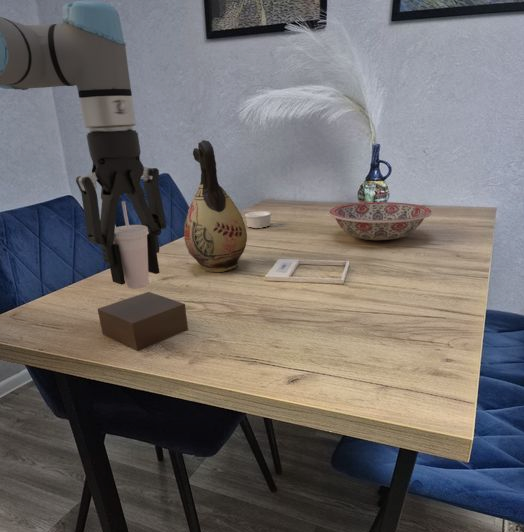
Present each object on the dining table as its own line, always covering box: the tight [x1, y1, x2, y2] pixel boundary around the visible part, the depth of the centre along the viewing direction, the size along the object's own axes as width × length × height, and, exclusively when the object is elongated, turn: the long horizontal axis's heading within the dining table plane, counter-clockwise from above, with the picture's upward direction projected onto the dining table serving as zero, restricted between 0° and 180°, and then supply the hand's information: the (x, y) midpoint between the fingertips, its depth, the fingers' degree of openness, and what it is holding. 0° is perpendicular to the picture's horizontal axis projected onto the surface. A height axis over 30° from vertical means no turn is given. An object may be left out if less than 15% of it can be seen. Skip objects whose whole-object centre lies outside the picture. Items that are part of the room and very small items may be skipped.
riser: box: [97, 291, 189, 352], centre depth 85 cm, size 11×11×5 cm
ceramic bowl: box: [328, 201, 433, 241], centre depth 139 cm, size 29×29×8 cm
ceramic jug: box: [183, 139, 248, 273], centre depth 113 cm, size 17×15×30 cm
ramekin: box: [244, 210, 272, 228], centre depth 161 cm, size 9×9×4 cm
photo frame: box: [264, 258, 351, 285], centre depth 113 cm, size 15×1×18 cm
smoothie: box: [113, 200, 150, 290], centre depth 79 cm, size 6×6×14 cm
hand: (136, 277), depth 81 cm, fingers closed on smoothie, 6 cm apart
